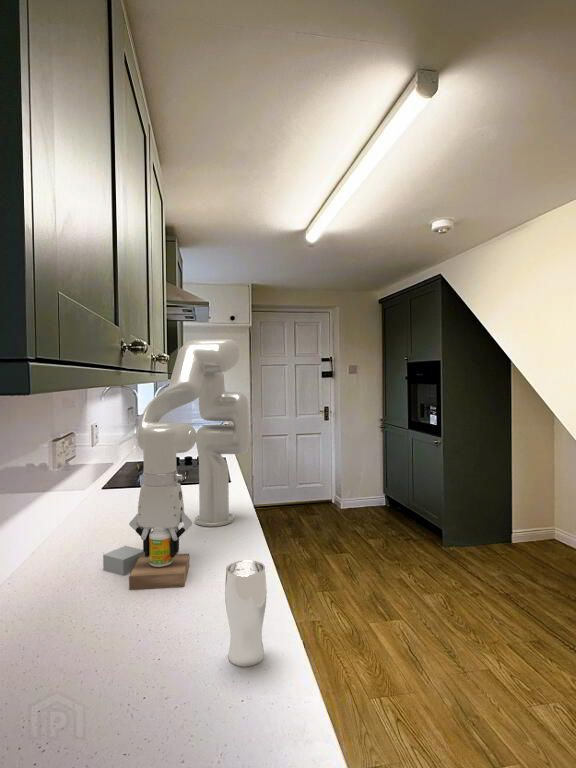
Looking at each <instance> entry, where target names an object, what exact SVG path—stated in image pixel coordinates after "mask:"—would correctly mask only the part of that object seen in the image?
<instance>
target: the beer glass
mask: <svg viewBox="0 0 576 768" xmlns="http://www.w3.org/2000/svg"><path fill="white" fill-rule="evenodd" d="M225 568H226V569H225V572H226V573H225V584H224V585H225V586H224V599H225V600H224V601H225V610H226V614H227V619H228V620H227V621H228V626H229V632H230V642H229V649H228V655H227V656H228V660H229V662H230V663H231V664H232V665H234V666H237V667H241V668H242V667H243V668H245V667H253V666H256V665H258V664H259V663H261V662H262V661H263V659H264V658H265V649H264V642H263V627H264V618H265V613H266V607H267V606H266V605H267V578H266V565H265V564H264V563H262V562H261V561H257V560H252V559H250V560H249V559H248V560H238V561H234V562H232V563H230V564H228V565H227V566H226V567H225Z"/></svg>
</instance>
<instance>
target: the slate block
mask: <svg viewBox="0 0 576 768" xmlns="http://www.w3.org/2000/svg"><path fill="white" fill-rule="evenodd" d="M140 556H145V552H143V548H142V549H141V548H138V547H137V548H136V547H132V546H128V545H124V546H122V547H119V548H116V549H113V550H112V551H109V552H107V553H104V554H102V560H103V561H102V562H103V565H102V567H103V568H102V570H103V571H105V572H109V573H114V574H116V575H119V576H122V577H123V576H126V575H128V574H131V572H132V570H133V568H134V566H135V565H136V563H137V561H138V559H139V557H140Z"/></svg>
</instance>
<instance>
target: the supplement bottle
mask: <svg viewBox="0 0 576 768" xmlns="http://www.w3.org/2000/svg"><path fill="white" fill-rule="evenodd" d="M171 540H172V536H171V533H170V530H169V528H159V527H157V528H152V530H151V532H150V534H149V560H150V565H152V566H154V567H163V566H167V565H169V564H171V563H172V562H173V558H171V557H170V541H171Z"/></svg>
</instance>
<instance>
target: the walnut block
mask: <svg viewBox="0 0 576 768" xmlns="http://www.w3.org/2000/svg"><path fill="white" fill-rule="evenodd" d="M190 561H191V560H190V553H177V554H176V555H175V556H174V558H173V562H172V563H171V564H169V565H167V566H163V567H154V566H152V565H150V560H149V556H148V557H145V556H140V557H139V559H138V561H137V563H136V565H135V566H134V568H133V570H132V572H130V573H129V575H128V585H129V586H128V590H129V591H130V590H149V589H150V590H151V589H152V590H153V589H165V588H166V589H167V588H184V587H185V586H186V585H185V584H186V581H187V577H188V572H189V568H190Z"/></svg>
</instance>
